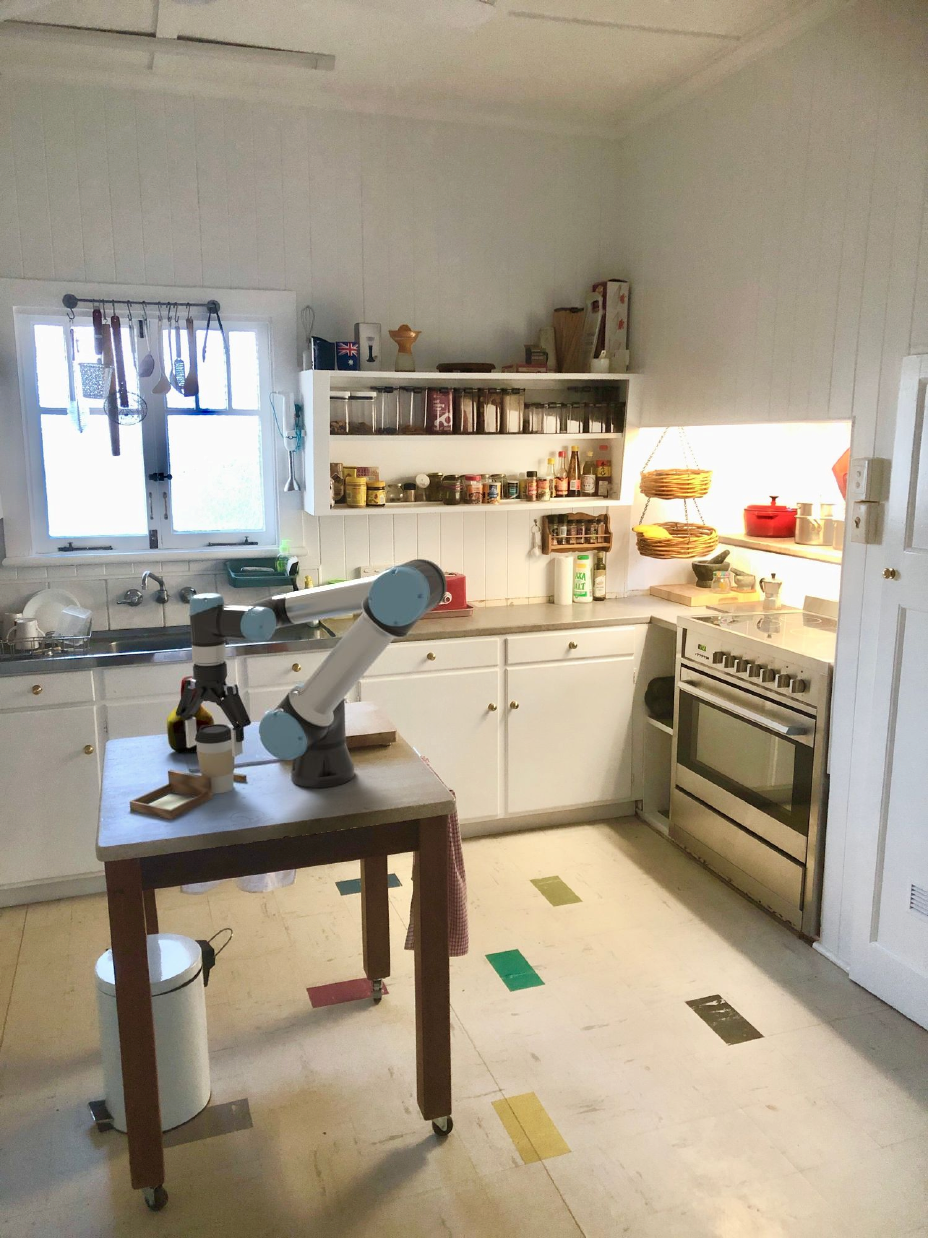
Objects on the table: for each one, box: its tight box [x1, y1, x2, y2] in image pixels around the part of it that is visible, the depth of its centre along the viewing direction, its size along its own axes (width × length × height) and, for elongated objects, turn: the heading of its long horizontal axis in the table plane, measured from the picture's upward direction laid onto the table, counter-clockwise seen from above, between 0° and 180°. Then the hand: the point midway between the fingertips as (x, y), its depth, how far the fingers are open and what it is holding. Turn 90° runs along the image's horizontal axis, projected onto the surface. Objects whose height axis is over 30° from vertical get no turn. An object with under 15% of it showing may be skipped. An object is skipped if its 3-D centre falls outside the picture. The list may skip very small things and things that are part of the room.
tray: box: [129, 769, 213, 820], centre depth 213 cm, size 12×13×5 cm
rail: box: [233, 772, 247, 783], centre depth 229 cm, size 12×1×2 cm, turn 63°
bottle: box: [166, 675, 215, 754], centre depth 246 cm, size 12×6×20 cm, turn 89°
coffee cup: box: [195, 723, 235, 795], centre depth 221 cm, size 9×9×15 cm
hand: (214, 750), depth 221 cm, fingers open, 13 cm apart
